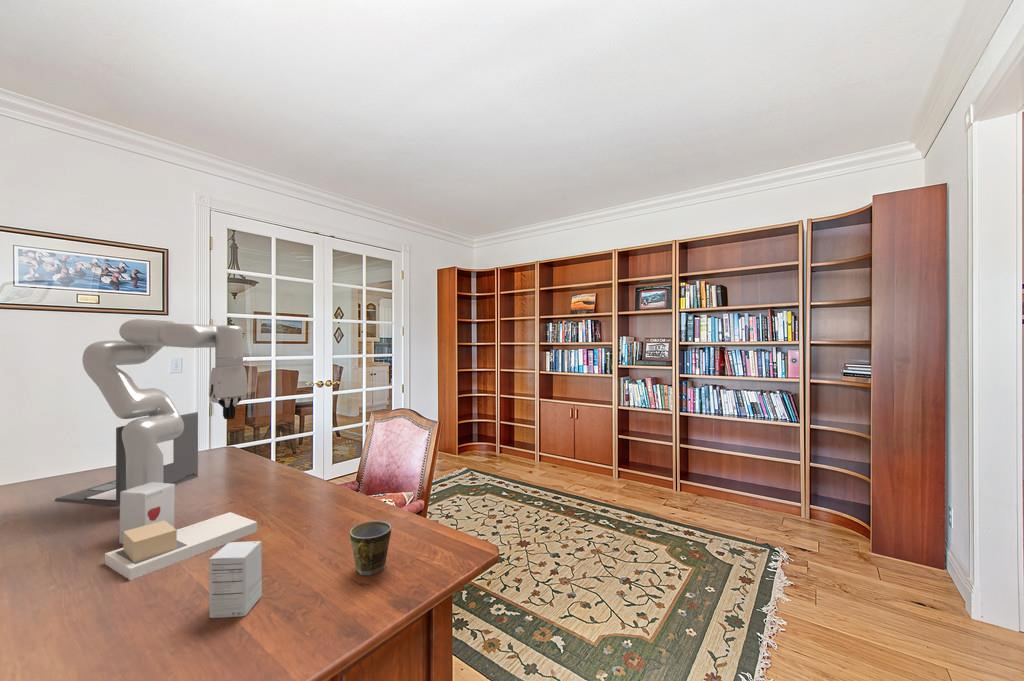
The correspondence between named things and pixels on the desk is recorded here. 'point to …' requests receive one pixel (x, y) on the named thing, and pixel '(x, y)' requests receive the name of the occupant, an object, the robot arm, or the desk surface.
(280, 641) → the desk surface
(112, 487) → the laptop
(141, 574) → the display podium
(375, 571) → the ceramic cup
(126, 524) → the supplement box
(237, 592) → the supplement box
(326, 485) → the desk surface
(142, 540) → the kraft carton
